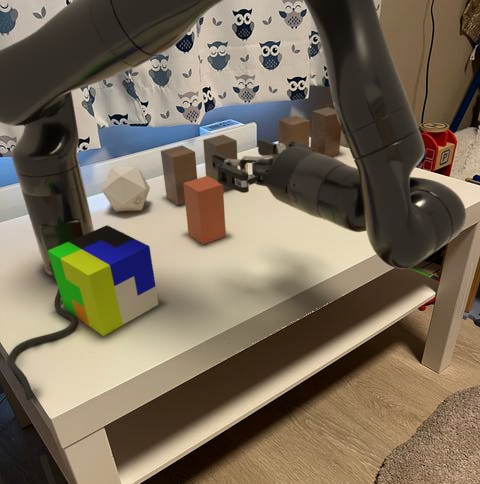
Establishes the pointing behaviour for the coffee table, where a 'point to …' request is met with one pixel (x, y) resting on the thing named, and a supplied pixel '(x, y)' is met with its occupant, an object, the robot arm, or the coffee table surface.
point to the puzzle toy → (105, 278)
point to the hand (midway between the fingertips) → (237, 153)
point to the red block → (205, 209)
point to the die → (126, 189)
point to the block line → (184, 161)
